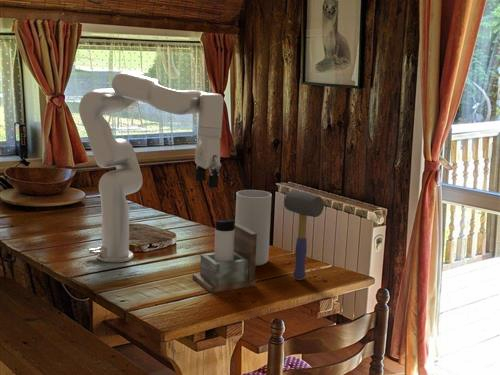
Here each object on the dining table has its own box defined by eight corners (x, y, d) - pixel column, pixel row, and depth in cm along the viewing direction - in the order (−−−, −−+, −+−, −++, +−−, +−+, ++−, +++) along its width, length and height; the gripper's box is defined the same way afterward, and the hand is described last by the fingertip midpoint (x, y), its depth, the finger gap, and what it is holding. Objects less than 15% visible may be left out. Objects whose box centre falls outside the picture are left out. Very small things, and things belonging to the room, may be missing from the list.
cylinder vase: (228, 263, 234) (230, 194, 229) (241, 253, 246) (244, 188, 241) (260, 268, 230) (264, 199, 225) (273, 258, 241) (276, 192, 236)
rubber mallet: (278, 276, 223) (282, 190, 216) (292, 271, 228) (297, 187, 222) (306, 286, 214) (312, 197, 208) (320, 281, 219) (326, 194, 213)
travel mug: (219, 282, 210) (221, 222, 206) (210, 276, 216) (212, 217, 212) (236, 280, 213) (238, 220, 209) (227, 273, 219) (229, 215, 215)
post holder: (210, 292, 205) (212, 238, 202) (192, 278, 217) (194, 227, 214) (255, 285, 213) (257, 234, 209) (235, 272, 225) (237, 223, 221)
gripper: (188, 127, 215) (185, 178, 219) (210, 136, 201) (206, 190, 204) (209, 127, 219) (206, 177, 223) (232, 136, 204) (228, 189, 208)
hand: (206, 184), depth 213 cm, fingers open, 9 cm apart
